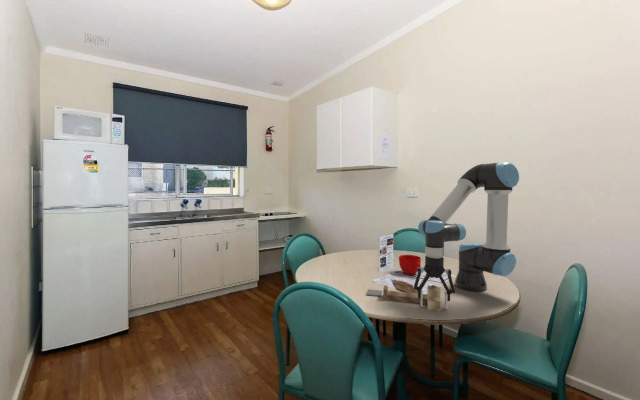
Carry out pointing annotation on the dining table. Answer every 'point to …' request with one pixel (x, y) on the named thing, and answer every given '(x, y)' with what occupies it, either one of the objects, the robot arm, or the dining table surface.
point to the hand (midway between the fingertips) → (433, 306)
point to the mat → (374, 292)
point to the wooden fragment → (404, 286)
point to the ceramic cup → (409, 263)
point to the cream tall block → (433, 297)
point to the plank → (403, 296)
